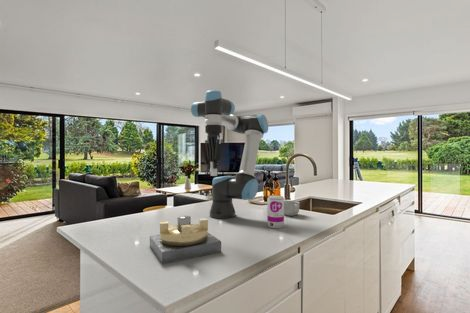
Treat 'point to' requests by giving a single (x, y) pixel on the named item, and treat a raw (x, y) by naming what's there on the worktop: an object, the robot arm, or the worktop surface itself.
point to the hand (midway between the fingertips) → (213, 175)
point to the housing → (184, 249)
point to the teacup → (291, 208)
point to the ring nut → (184, 232)
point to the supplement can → (275, 211)
